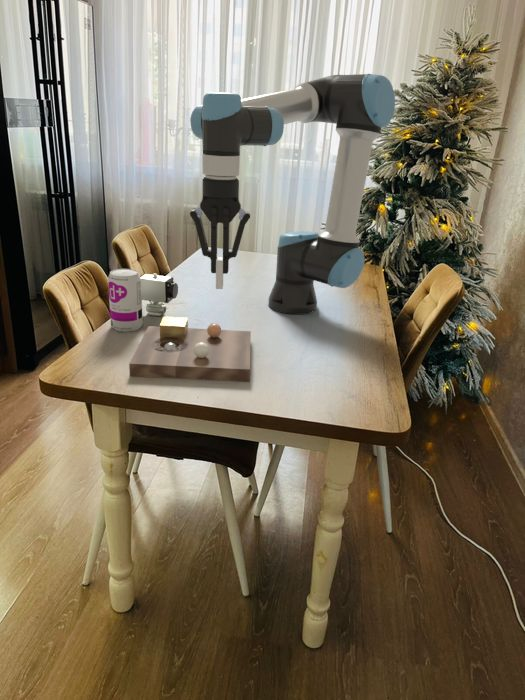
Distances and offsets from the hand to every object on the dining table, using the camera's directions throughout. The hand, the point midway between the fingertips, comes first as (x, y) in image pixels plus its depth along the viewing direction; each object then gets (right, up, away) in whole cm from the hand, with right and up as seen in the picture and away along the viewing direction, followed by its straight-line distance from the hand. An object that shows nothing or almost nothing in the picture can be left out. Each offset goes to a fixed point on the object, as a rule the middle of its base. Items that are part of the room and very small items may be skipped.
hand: (219, 286), depth 114 cm
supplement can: (-27, -8, +22) cm, 35 cm away
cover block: (-12, -10, +12) cm, 20 cm away
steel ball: (-12, -14, +6) cm, 20 cm away
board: (-6, -16, +7) cm, 18 cm away
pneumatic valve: (-21, -4, +32) cm, 38 cm away
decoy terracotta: (-2, -9, +10) cm, 14 cm away
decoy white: (-4, -14, -1) cm, 15 cm away
